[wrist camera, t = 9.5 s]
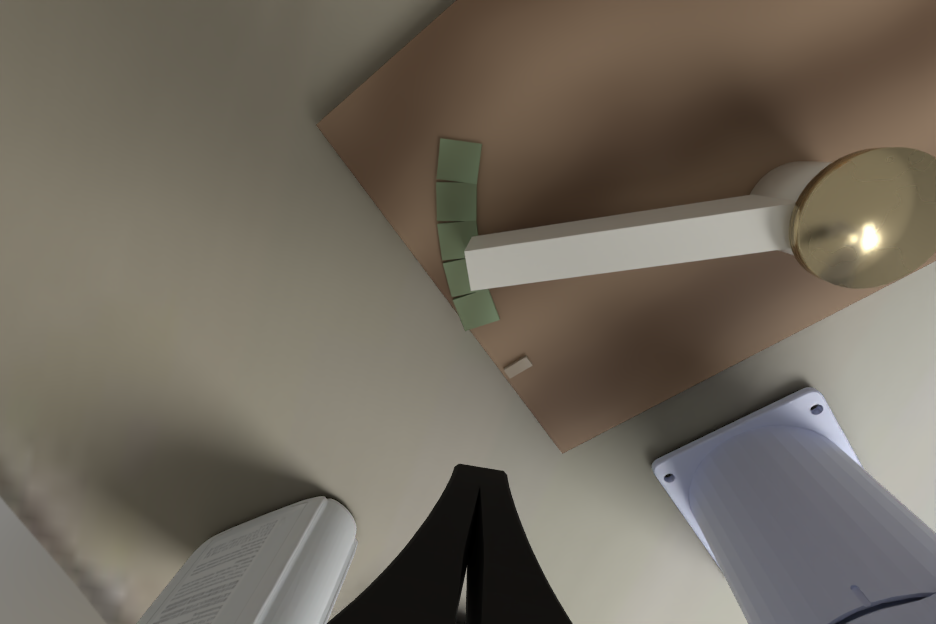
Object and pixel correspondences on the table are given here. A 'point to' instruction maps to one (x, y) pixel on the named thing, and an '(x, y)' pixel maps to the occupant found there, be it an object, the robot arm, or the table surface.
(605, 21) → the board
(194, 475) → the table surface
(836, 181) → the peg lever
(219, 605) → the photo printer
